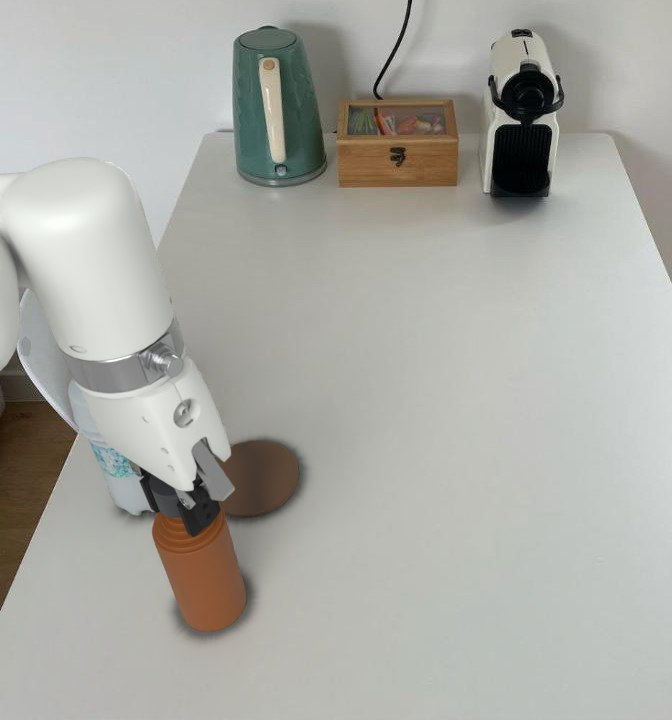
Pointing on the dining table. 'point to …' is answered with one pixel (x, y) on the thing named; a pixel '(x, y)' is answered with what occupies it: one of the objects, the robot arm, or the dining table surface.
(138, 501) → the bottle
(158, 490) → the cap
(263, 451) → the coaster
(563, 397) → the dining table surface
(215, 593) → the sauce bottle
